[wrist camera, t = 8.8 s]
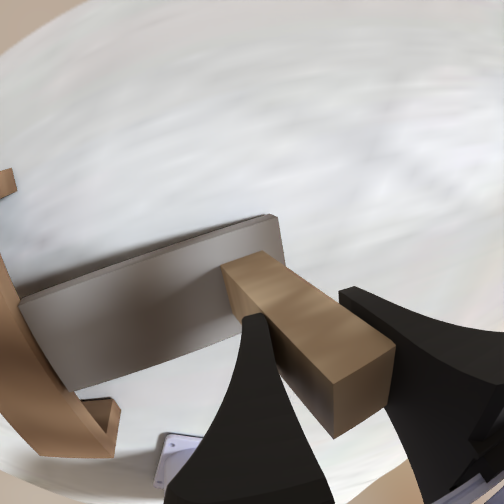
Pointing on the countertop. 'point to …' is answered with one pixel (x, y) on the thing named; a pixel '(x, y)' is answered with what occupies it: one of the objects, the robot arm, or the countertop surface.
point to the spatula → (214, 321)
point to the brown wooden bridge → (45, 386)
